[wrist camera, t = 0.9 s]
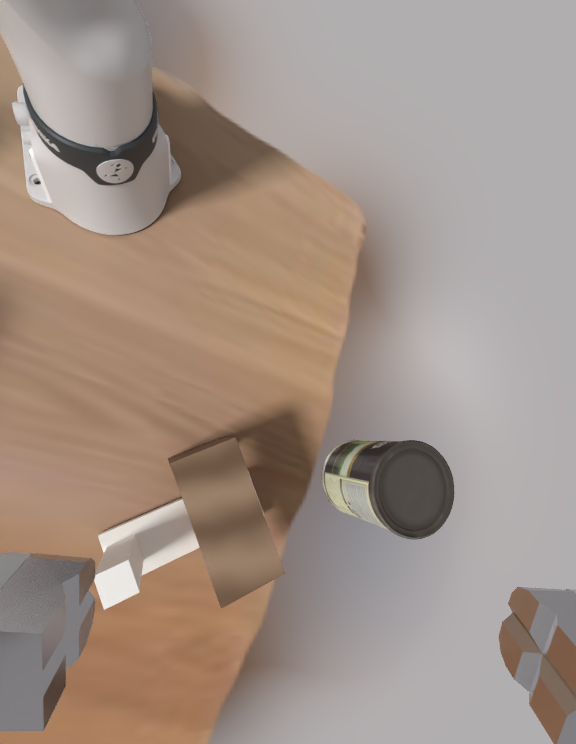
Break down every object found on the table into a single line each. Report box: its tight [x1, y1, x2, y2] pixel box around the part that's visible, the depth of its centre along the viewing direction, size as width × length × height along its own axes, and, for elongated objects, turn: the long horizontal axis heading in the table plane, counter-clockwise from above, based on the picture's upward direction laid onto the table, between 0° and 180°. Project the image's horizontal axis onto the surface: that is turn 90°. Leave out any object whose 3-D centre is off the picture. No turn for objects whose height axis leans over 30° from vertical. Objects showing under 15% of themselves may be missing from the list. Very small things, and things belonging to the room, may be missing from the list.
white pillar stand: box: [94, 471, 265, 610], centre depth 42 cm, size 6×18×11 cm, turn 111°
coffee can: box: [322, 440, 454, 539], centre depth 49 cm, size 10×10×14 cm
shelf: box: [168, 437, 285, 608], centre depth 44 cm, size 15×7×10 cm, turn 22°
